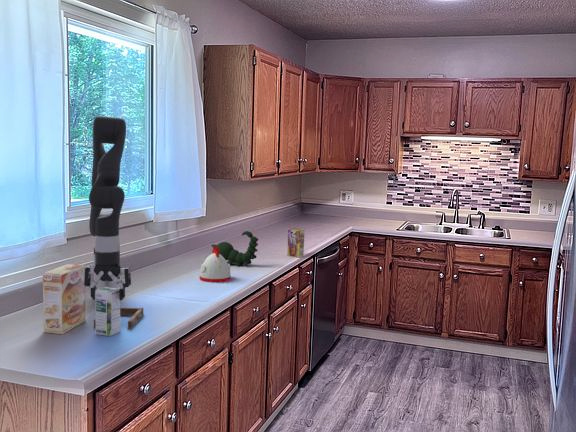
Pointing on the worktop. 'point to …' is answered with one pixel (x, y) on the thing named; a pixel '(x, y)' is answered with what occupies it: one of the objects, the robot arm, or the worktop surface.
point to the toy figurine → (234, 255)
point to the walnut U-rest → (134, 312)
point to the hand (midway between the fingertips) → (107, 299)
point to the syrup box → (107, 311)
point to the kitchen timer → (215, 268)
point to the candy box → (296, 242)
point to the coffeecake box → (63, 298)
